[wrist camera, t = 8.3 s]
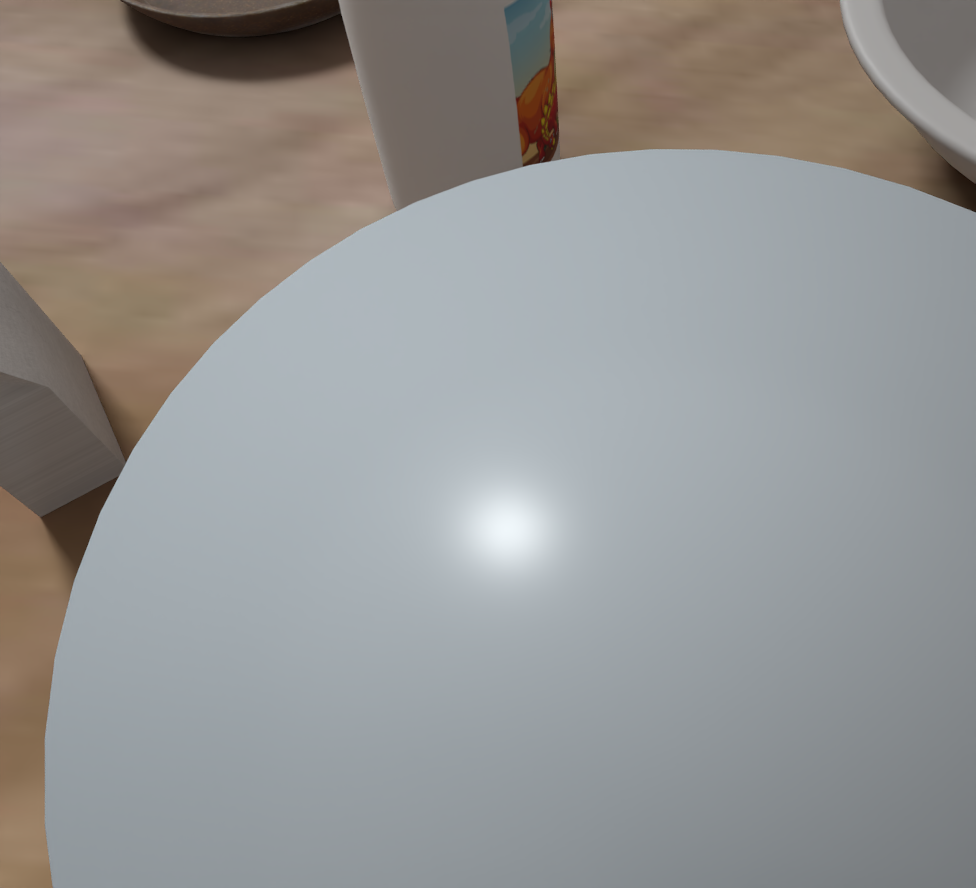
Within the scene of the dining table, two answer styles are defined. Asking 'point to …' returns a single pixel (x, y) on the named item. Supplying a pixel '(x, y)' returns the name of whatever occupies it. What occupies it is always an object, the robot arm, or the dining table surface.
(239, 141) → the dining table surface
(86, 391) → the white paper packet
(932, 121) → the soup bowl
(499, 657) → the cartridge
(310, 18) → the plant saucer
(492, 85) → the milk bottle
